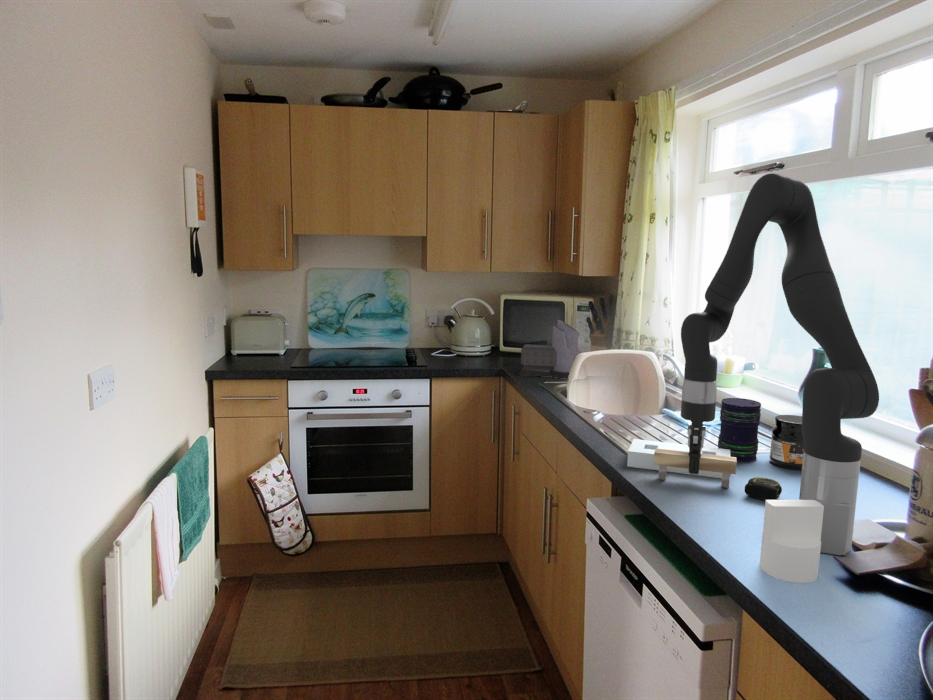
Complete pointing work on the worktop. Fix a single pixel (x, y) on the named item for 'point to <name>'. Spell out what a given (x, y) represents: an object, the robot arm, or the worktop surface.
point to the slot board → (644, 449)
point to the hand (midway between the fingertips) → (693, 470)
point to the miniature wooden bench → (706, 463)
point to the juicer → (552, 354)
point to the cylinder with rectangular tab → (792, 539)
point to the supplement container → (787, 442)
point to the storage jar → (740, 428)
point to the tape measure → (763, 488)
